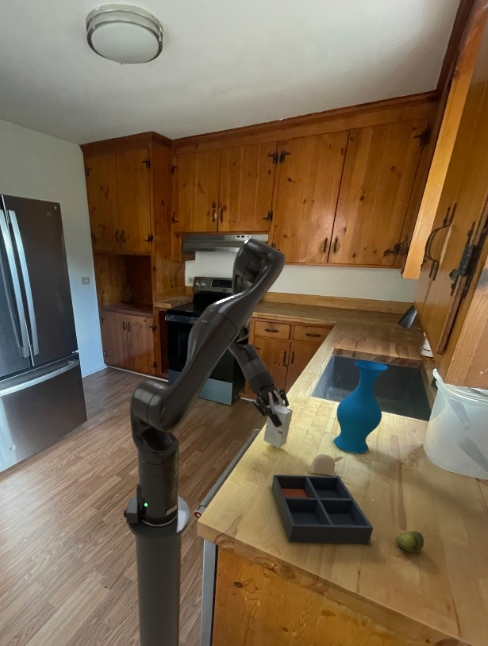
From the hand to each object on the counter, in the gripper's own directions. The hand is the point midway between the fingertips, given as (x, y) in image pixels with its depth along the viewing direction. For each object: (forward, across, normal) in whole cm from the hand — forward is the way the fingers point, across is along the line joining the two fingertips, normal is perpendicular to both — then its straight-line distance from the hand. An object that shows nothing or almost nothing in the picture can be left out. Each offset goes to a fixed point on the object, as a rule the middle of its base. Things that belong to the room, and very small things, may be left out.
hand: (283, 423), depth 100 cm
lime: (+35, -10, -21) cm, 42 cm away
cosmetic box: (+4, 0, +7) cm, 8 cm away
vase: (+16, +21, -2) cm, 26 cm away
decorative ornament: (+17, +1, -4) cm, 17 cm away
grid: (+22, -16, -9) cm, 29 cm away
